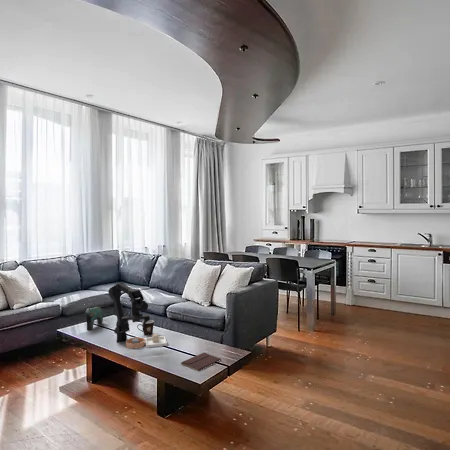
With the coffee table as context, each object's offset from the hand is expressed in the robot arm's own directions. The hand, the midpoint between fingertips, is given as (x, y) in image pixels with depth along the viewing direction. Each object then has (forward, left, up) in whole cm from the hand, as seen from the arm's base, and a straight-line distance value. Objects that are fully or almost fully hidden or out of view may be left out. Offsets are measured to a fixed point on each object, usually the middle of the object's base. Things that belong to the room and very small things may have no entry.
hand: (136, 330), depth 251 cm
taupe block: (+13, +6, -10) cm, 18 cm away
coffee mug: (+8, +23, -11) cm, 27 cm away
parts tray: (+13, +2, -11) cm, 18 cm away
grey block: (-1, 0, -10) cm, 10 cm away
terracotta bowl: (-1, +2, -11) cm, 11 cm away
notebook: (+38, -38, -12) cm, 55 cm away
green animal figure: (-31, +54, -11) cm, 63 cm away
